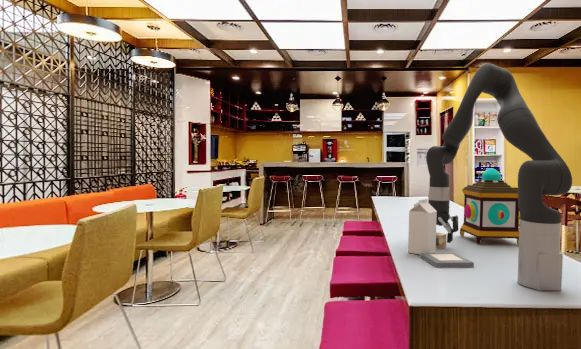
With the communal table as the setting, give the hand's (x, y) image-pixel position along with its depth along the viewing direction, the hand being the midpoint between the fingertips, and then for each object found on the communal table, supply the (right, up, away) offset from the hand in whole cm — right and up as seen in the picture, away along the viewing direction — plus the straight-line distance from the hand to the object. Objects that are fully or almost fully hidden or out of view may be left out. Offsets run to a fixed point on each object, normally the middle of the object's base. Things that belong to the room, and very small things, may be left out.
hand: (437, 240), depth 146 cm
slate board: (-6, -3, -22) cm, 23 cm away
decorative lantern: (+26, -2, +12) cm, 29 cm away
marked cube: (0, -2, 0) cm, 2 cm away
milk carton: (-10, -3, -10) cm, 14 cm away
